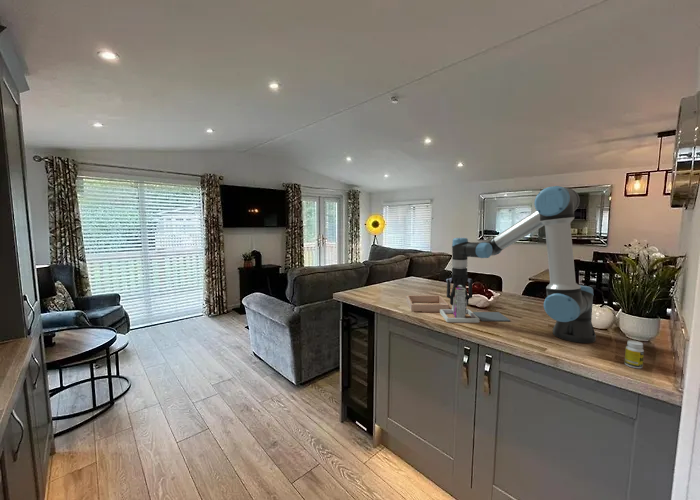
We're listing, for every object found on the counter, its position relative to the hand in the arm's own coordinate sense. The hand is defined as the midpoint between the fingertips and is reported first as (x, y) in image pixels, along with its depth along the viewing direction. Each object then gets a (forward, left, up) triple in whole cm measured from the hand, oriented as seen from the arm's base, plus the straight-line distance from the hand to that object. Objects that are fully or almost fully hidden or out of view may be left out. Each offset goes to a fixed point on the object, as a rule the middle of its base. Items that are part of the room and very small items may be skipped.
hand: (459, 310), depth 162 cm
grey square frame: (0, 0, -4) cm, 4 cm away
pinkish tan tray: (+21, +13, -4) cm, 25 cm away
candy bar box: (0, 0, -4) cm, 4 cm away
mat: (+1, -17, -4) cm, 17 cm away
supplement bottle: (-53, -45, -4) cm, 69 cm away
